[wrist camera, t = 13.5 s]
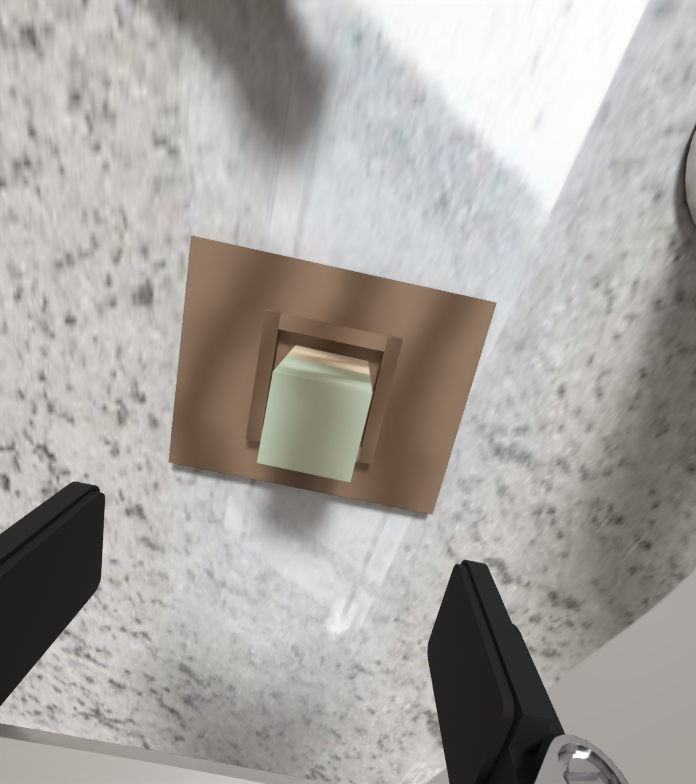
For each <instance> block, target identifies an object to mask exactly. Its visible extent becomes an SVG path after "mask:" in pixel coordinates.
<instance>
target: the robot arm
mask: <svg viewBox="0 0 696 784" xmlns="http://www.w3.org/2000/svg"><path fill="white" fill-rule="evenodd" d="M685 186H686V196H687V203H688V206H689V209H690V213H691V216H692V219H693V221H694V223H695V225H696V131H695V133H694V135H693V138H692V142H691V146H690V150H689V153H688V157H687V164H686V175H685ZM104 509H105V495H104V494H103V493H100V489H99V487H98V486H95V485H90V484H85V483H80V482H72V483H70V484H69V485H67V486H66V487H64V488H63V489H62V490H60V491H59V492H58V493H56V494H55V495H53V496H52V497H51V498H49V499H48V500H47V501H45V502H44V503H42V504H41V505H40V506H38V507H37V508H36V509H34V510H33V511H31V512H30V513H29V514H27V515H26V516H24V517H23V518H22V519H20V520H19V521H18V522H16V523H15V524H13V525H12V526H11V527H9V528H8V529H7V530H5V531H4V532H2V533H1V534H0V706H1V705H2V703H3V702H4V701H5V700H6V699H7V697H8V696H9V695H10V694H11V693H12V691H13V690H14V689H15V688H16V687H17V685H18V684H19V683H20V682H21V681H22V679H23V678H24V677H25V676H26V675H27V673H28V672H29V671H30V670H31V669H32V667H33V666H34V665H35V664H36V663H37V661H38V660H39V659H40V658H41V657H42V655H43V654H44V653H45V652H46V651H47V649H48V648H49V647H50V646H51V645H52V643H53V642H54V641H55V640H56V639H57V637H58V636H59V635H60V634H61V632H62V631H63V630H64V629H65V628H66V626H67V625H68V624H69V623H70V622H71V620H72V619H73V618H74V617H75V616H76V614H77V613H78V612H79V611H80V610H81V608H82V607H83V606H84V605H85V604H86V602H87V601H88V600H89V599H90V598H91V596H92V595H93V594H94V593H95V591H96V590H97V588H98V586H99V583H100V580H101V568H102V549H103V529H104ZM427 653H428V662H429V667H430V673H431V679H432V685H433V691H434V696H435V702H436V708H437V714H438V719H439V725H440V731H441V737H442V742H443V748H444V754H445V760H446V766H447V771H448V777H449V783H450V784H628V782H627V780H626V779H625V777H624V775H623V774H622V772H621V771H620V770H619V769H618V767H617V766H616V765H615V764H614V763H613V762H612V760H611V759H610V758H609V757H608V756H606V755H605V754H604V753H603V752H602V751H601V750H600V749H599V748H597V747H596V746H594V745H592V744H591V743H589V742H588V741H587V740H584V739H582V738H579V737H576V736H574V735H565V733H564V730H563V728H562V726H561V724H560V722H559V719H558V717H557V715H556V712H555V710H554V708H553V706H552V703H551V701H550V699H549V697H548V694H547V692H546V690H545V687H544V685H543V683H542V681H541V678H540V676H539V674H538V672H537V669H536V667H535V665H534V663H533V660H532V658H531V656H530V653H529V651H528V649H527V647H526V644H525V642H524V640H523V638H522V635H521V633H520V631H519V630H518V628H517V626H515V625H514V624H512V622H511V620H510V617H509V615H508V613H507V610H506V608H505V606H504V603H503V601H502V599H501V596H500V594H499V592H498V590H497V587H496V585H495V583H494V580H493V578H492V576H491V573H490V571H489V569H488V567H487V565H486V564H484V563H479V562H474V561H469V560H463V561H462V563H461V565H460V564H456V565H455V566H454V568H453V571H452V574H451V577H450V580H449V582H448V585H447V588H446V591H445V594H444V597H443V600H442V603H441V606H440V609H439V612H438V615H437V618H436V621H435V624H434V627H433V630H432V633H431V636H430V639H429V642H428V650H427ZM0 784H331V783H326V782H321V781H315V780H310V779H305V778H300V777H294V776H289V775H284V774H278V773H273V772H268V771H262V770H257V769H251V768H246V767H241V766H235V765H230V764H224V763H219V762H213V761H208V760H203V759H197V758H192V757H186V756H181V755H175V754H170V753H164V752H159V751H153V750H148V749H142V748H137V747H131V746H125V745H120V744H114V743H108V742H103V741H97V740H91V739H86V738H80V737H74V736H69V735H63V734H57V733H52V732H46V731H40V730H35V729H29V728H23V727H18V726H12V725H6V724H0Z"/></svg>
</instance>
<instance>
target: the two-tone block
mask: <svg viewBox="0 0 696 784" xmlns="http://www.w3.org/2000/svg"><path fill="white" fill-rule="evenodd" d="M371 397H372V386H371V379H370V372H369V364H368V361H366V360H362V359H357V358H353V357H348V356H344V355H339V354H335V353H330V352H326V351H321V350H317V349H312V348H308V347H303V346H299V345H295V346H294V348H293V349H292V350H291V351H290V352H289V353H288V355H287V356H286V357H285V358H284V359H283V360H282V362H281V363H280V364H279V365H278V366H277V367H276V369H275V370H274V371H273V374H272V380H271V385H270V391H269V396H268V402H267V408H266V413H265V419H264V425H263V430H262V436H261V442H260V447H259V453H258V459H257V463H260V464H265V465H270V466H275V467H279V468H284V469H289V470H294V471H298V472H303V473H308V474H313V475H317V476H322V477H327V478H332V479H336V480H341V481H346V482H351V478H352V474H353V470H354V466H355V462H356V458H357V454H358V450H359V446H360V442H361V438H362V434H363V430H364V425H365V421H366V417H367V413H368V409H369V405H370V401H371Z"/></svg>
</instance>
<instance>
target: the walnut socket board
mask: <svg viewBox="0 0 696 784" xmlns="http://www.w3.org/2000/svg"><path fill="white" fill-rule="evenodd" d="M495 307H496V303H495V302H491V301H486V300H482V299H477V298H473V297H468V296H464V295H459V294H454V293H450V292H445V291H441V290H436V289H432V288H427V287H423V286H418V285H414V284H409V283H404V282H400V281H395V280H391V279H386V278H382V277H377V276H373V275H368V274H364V273H359V272H354V271H350V270H345V269H341V268H336V267H332V266H327V265H323V264H318V263H313V262H309V261H304V260H300V259H295V258H291V257H286V256H282V255H277V254H273V253H268V252H263V251H259V250H254V249H250V248H245V247H241V246H236V245H232V244H227V243H222V242H218V241H213V240H209V239H204V238H200V237H195V236H191V243H190V253H189V263H188V273H187V283H186V293H185V303H184V313H183V323H182V333H181V343H180V353H179V363H178V373H177V383H176V393H175V403H174V413H173V423H172V433H171V443H170V453H169V462H170V463H175V464H180V465H185V466H190V467H195V468H200V469H205V470H210V471H215V472H221V473H226V474H231V475H236V476H241V477H246V478H251V479H256V480H261V481H266V482H271V483H276V484H281V485H286V486H291V487H296V488H301V489H306V490H311V491H316V492H321V493H326V494H331V495H336V496H341V497H346V498H351V499H357V500H362V501H367V502H372V503H377V504H382V505H387V506H392V507H397V508H402V509H407V510H412V511H417V512H422V513H427V514H433V511H434V507H435V504H436V501H437V497H438V494H439V491H440V488H441V484H442V481H443V478H444V474H445V471H446V468H447V465H448V461H449V458H450V455H451V451H452V448H453V445H454V441H455V438H456V435H457V432H458V428H459V425H460V422H461V418H462V415H463V412H464V409H465V405H466V402H467V399H468V395H469V392H470V389H471V386H472V382H473V379H474V376H475V372H476V369H477V366H478V362H479V359H480V356H481V353H482V349H483V346H484V343H485V339H486V336H487V333H488V330H489V326H490V323H491V320H492V316H493V313H494V310H495ZM295 345H299V346H303V347H308V348H312V349H317V350H321V351H326V352H330V353H335V354H339V355H344V356H348V357H353V358H357V359H362V360H366V361H368V364H369V372H370V379H371V386H372V397H371V401H370V405H369V409H368V413H367V417H366V421H365V425H364V430H363V434H362V438H361V442H360V446H359V450H358V454H357V458H356V462H355V466H354V470H353V474H352V478H351V482H346V481H341V480H336V479H332V478H327V477H322V476H317V475H313V474H308V473H303V472H298V471H294V470H289V469H284V468H279V467H275V466H270V465H265V464H260V463H257V459H258V453H259V447H260V442H261V436H262V430H263V425H264V419H265V413H266V408H267V402H268V396H269V391H270V385H271V380H272V374H273V371H274V370H275V369H276V367H277V366H278V365H279V364H280V363H281V362H282V360H283V359H284V358H285V357H286V356H287V355H288V353H289V352H290V351H291V350H292V349H293V348H294V346H295Z"/></svg>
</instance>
